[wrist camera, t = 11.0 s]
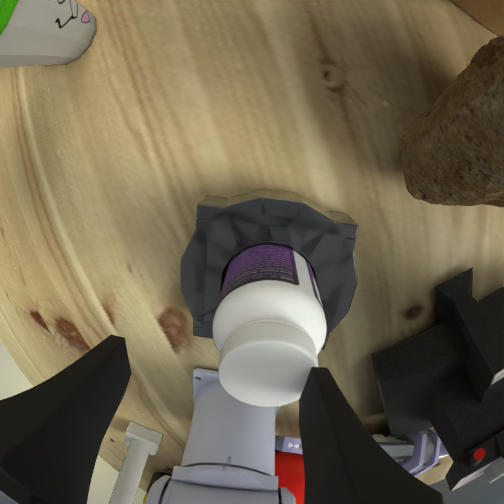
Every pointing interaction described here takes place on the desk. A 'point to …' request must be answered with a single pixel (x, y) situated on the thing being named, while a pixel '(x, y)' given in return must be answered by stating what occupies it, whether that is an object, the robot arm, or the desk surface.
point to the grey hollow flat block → (272, 231)
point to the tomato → (291, 473)
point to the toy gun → (393, 449)
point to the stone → (461, 138)
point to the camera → (452, 381)
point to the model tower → (134, 462)
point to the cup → (43, 32)
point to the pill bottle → (268, 325)
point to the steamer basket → (485, 13)
